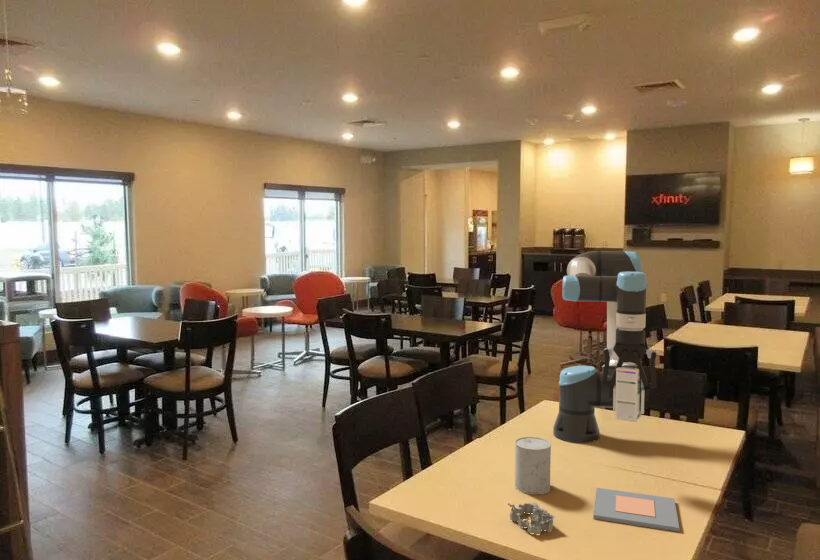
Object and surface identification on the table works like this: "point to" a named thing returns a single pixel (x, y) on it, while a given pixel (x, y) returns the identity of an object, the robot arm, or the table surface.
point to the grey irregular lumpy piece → (532, 517)
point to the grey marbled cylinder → (532, 465)
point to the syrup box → (628, 393)
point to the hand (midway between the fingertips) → (628, 410)
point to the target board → (636, 509)
